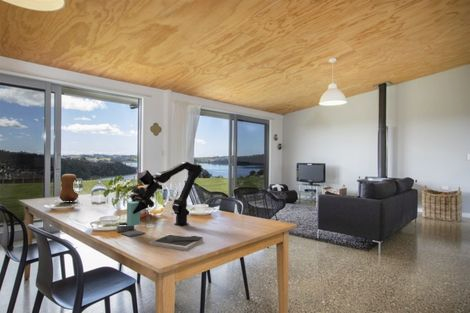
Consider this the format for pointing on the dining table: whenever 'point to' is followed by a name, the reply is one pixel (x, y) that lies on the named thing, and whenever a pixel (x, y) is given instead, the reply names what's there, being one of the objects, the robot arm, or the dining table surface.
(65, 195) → the butternut squash
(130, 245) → the dining table surface
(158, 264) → the dining table surface
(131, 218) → the teal block
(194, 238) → the picture frame
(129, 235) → the dark grey pad
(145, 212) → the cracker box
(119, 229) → the grey holder
